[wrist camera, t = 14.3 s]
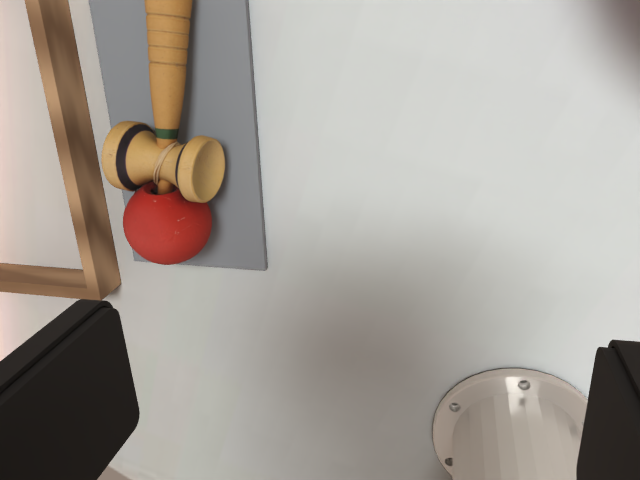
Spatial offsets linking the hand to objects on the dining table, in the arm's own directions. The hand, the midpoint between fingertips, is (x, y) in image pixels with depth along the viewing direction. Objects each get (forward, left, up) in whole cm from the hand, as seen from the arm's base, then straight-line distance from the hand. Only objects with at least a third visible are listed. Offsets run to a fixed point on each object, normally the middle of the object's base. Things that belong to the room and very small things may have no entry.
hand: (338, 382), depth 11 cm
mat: (-2, +17, -28) cm, 33 cm away
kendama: (-1, +16, -28) cm, 32 cm away
